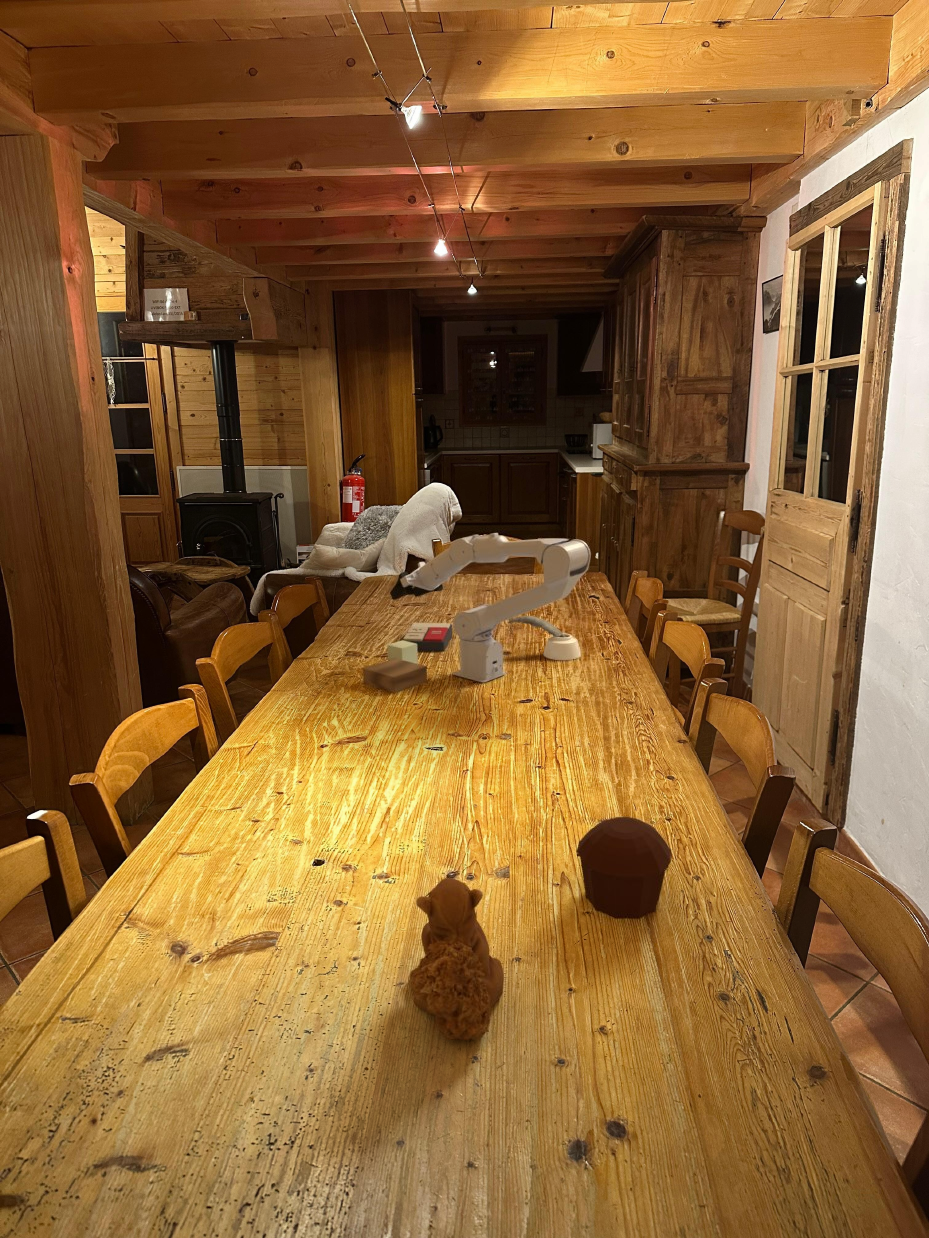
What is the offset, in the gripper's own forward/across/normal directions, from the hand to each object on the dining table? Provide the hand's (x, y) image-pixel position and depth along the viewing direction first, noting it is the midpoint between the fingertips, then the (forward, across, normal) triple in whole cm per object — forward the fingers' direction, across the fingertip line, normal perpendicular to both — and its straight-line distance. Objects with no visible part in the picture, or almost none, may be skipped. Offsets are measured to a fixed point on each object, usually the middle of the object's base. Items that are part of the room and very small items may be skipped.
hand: (403, 594), depth 199 cm
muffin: (-65, +56, +68) cm, 110 cm away
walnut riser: (+1, +13, +21) cm, 24 cm away
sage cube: (+8, +2, +15) cm, 17 cm away
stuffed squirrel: (-61, +84, +68) cm, 124 cm away
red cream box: (+13, -16, +10) cm, 23 cm away
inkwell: (-13, -24, +26) cm, 38 cm away
